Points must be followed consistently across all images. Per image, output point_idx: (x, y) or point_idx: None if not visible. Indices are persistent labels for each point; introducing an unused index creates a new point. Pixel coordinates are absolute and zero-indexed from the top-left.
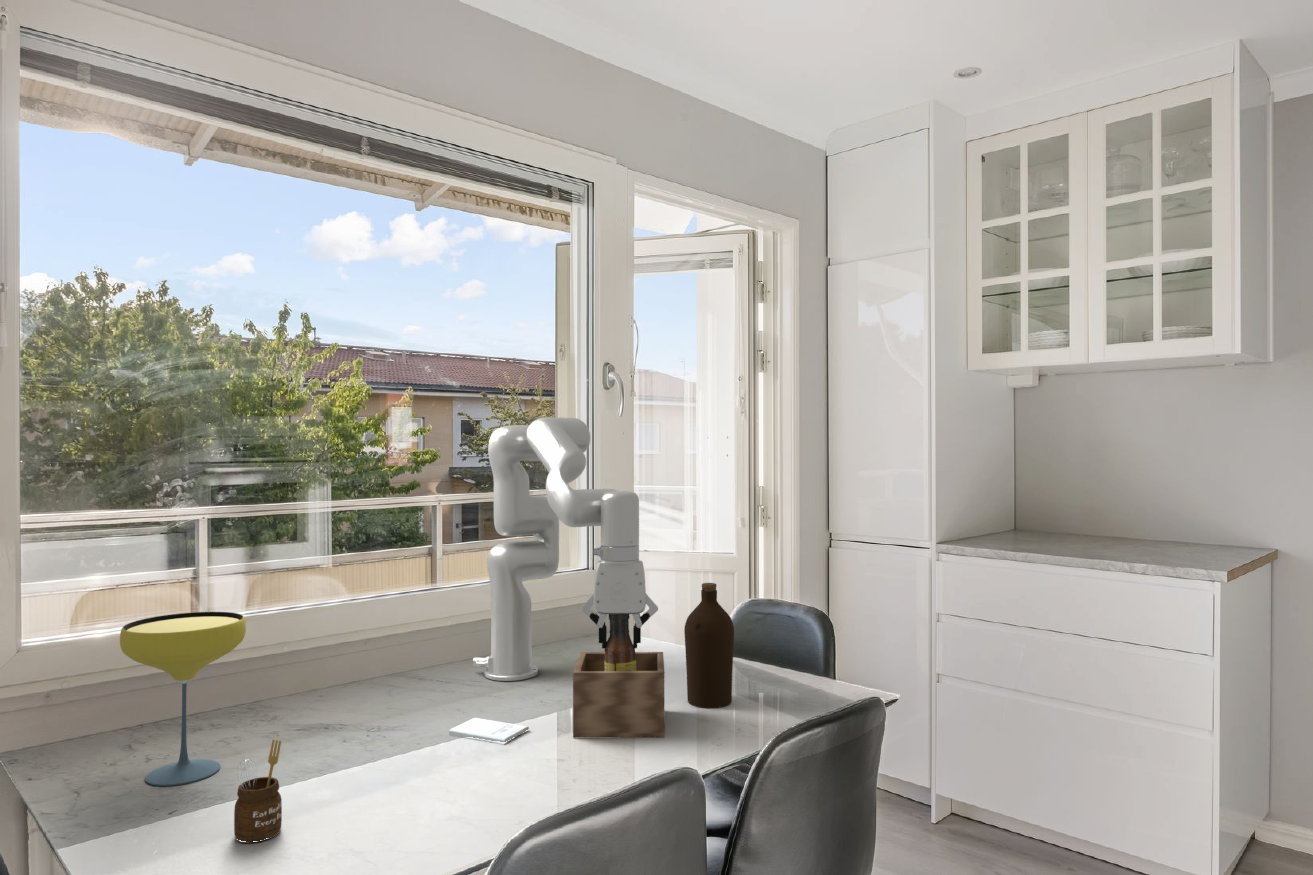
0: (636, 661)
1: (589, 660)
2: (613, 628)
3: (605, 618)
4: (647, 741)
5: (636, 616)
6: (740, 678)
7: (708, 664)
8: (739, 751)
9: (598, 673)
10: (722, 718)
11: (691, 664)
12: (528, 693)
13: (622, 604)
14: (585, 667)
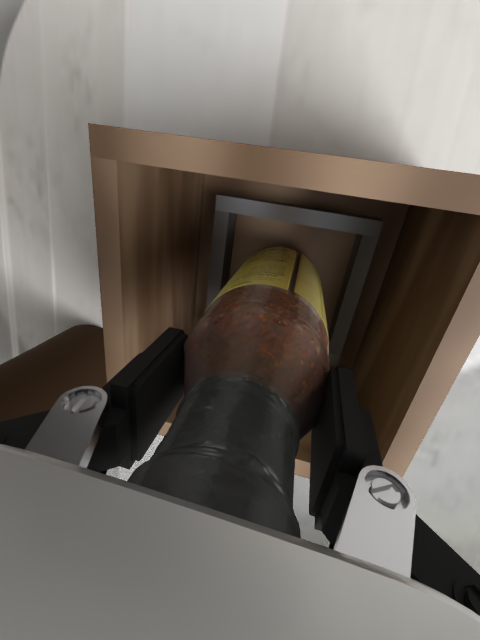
0: None
1: None
2: (275, 430)
3: (343, 529)
4: (238, 125)
5: (50, 456)
6: None
7: (24, 371)
8: (29, 12)
9: (404, 167)
10: (73, 262)
11: None
12: (450, 507)
13: (57, 636)
14: None
